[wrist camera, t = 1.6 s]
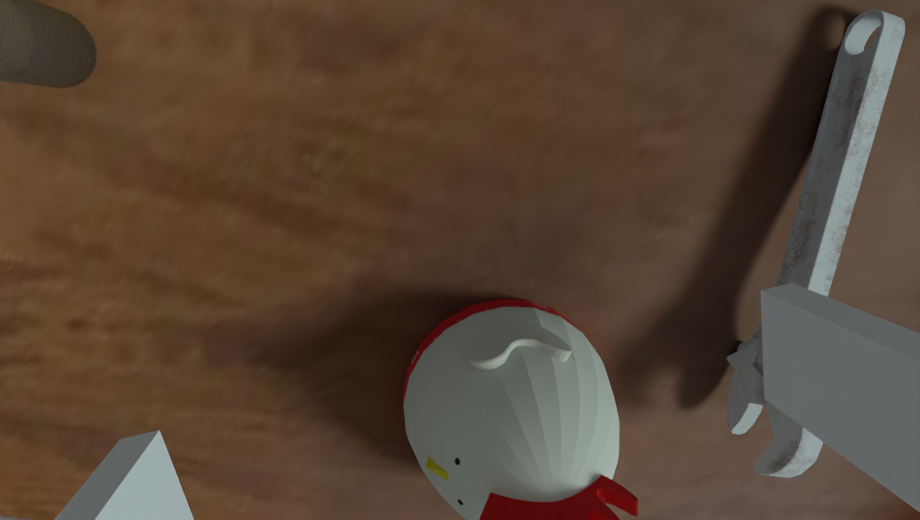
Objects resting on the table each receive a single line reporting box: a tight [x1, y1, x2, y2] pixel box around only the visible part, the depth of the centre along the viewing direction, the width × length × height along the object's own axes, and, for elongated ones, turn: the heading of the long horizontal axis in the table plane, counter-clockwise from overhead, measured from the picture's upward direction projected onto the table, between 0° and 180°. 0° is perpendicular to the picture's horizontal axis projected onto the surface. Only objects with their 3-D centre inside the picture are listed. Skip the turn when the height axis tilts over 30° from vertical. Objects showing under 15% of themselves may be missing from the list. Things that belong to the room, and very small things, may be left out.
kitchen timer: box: [402, 299, 638, 520], centre depth 31 cm, size 14×14×15 cm
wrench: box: [726, 9, 905, 478], centre depth 35 cm, size 8×2×30 cm
